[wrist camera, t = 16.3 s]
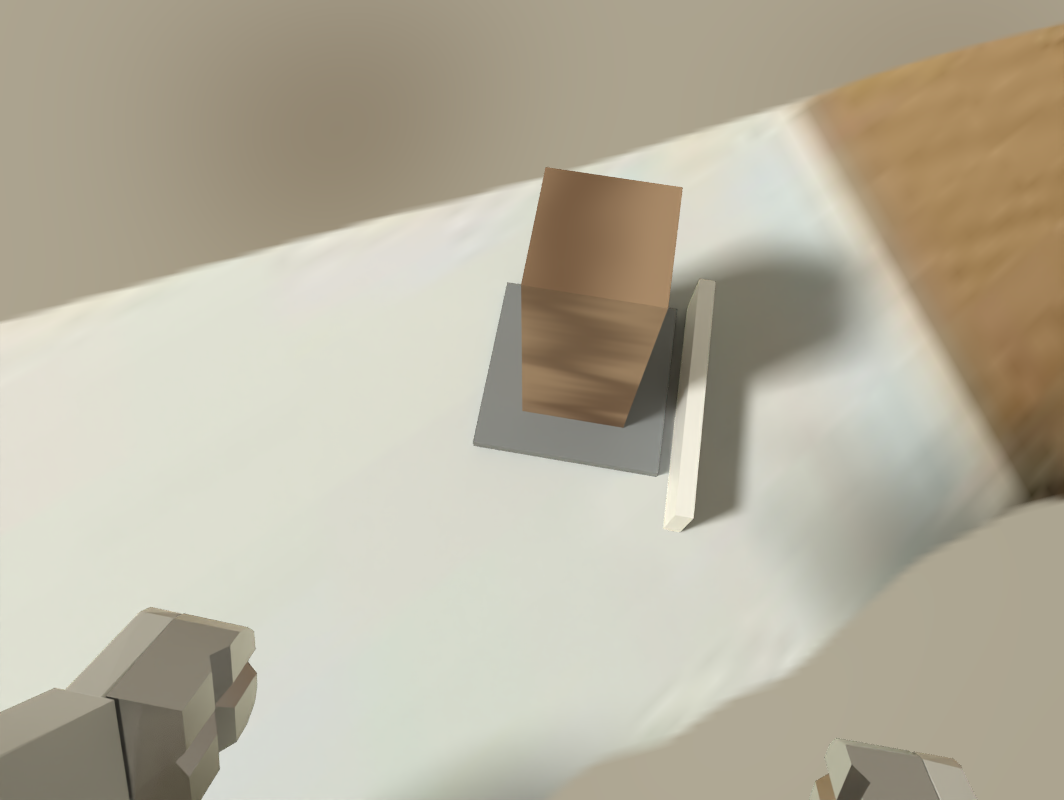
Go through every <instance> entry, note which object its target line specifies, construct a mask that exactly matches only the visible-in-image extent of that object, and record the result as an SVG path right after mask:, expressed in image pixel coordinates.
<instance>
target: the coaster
mask: <svg viewBox="0 0 1064 800" xmlns="http://www.w3.org/2000/svg"><path fill="white" fill-rule="evenodd" d="M676 314H677V309H673V308H668V310H667V312H666V315H665V318H664V320H663V323H662V326H661V328H660V331H659V334H658V336H657V339H656V342H655V344H654V347H653V350H652V352H651V355H650V358H649V360H648V363H647V366H646V368H645V371H644V374H643V376H642V379H641V382H640V384H639V387H638V390H637V392H636V395H635V398H634V400H633V403H632V406H631V408H630V411H629V414H628V416H627V419H626V422H625V424H624V427H623V428H621V427H615V426H609V425H603V424H597V423H591V422H585V421H579V420H573V419H567V418H561V417H555V416H550V415H544V414H538V413H532V412H526V411H522V323H521V284H514V283H508V282H507V287H506V291H505V296H504V300H503V305H502V310H501V314H500V319H499V324H498V328H497V333H496V338H495V342H494V347H493V351H492V356H491V361H490V365H489V370H488V375H487V379H486V384H485V389H484V393H483V398H482V402H481V407H480V412H479V416H478V421H477V426H476V430H475V435H474V440H473V444H474V446H479V447H485V448H491V449H497V450H502V451H508V452H514V453H520V454H526V455H532V456H538V457H544V458H549V459H555V460H561V461H567V462H573V463H579V464H585V465H591V466H596V467H602V468H608V469H614V470H620V471H626V472H632V473H638V474H643V475H649V476H655V477H656V476H657V474H658V471H659V462H660V453H661V445H662V436H663V427H664V418H665V410H666V401H667V392H668V383H669V375H670V366H671V357H672V348H673V340H674V331H675V322H676Z"/></svg>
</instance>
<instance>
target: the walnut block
mask: <svg viewBox="0 0 1064 800" xmlns="http://www.w3.org/2000/svg"><path fill="white" fill-rule="evenodd" d="M682 189H683V188H682V187H676V186H669V185H662V184H655V183H649V182H642V181H635V180H629V179H622V178H615V177H608V176H602V175H595V174H588V173H581V172H575V171H568V170H561V169H554V168H548V167H546V168H545V173H544V178H543V183H542V187H541V192H540V197H539V202H538V207H537V211H536V216H535V221H534V226H533V231H532V235H531V240H530V245H529V250H528V255H527V259H526V264H525V269H524V274H523V279H522V283H521V323H522V411H526V412H532V413H538V414H544V415H550V416H555V417H561V418H567V419H573V420H579V421H585V422H591V423H597V424H603V425H609V426H615V427H621V428H623V427H624V424H625V422H626V419H627V416H628V414H629V411H630V408H631V406H632V403H633V400H634V398H635V395H636V392H637V390H638V387H639V384H640V382H641V379H642V376H643V374H644V371H645V368H646V366H647V363H648V360H649V358H650V355H651V352H652V350H653V347H654V344H655V342H656V339H657V336H658V334H659V331H660V328H661V326H662V323H663V320H664V318H665V315H666V312H667V310H668V305H669V296H670V288H671V280H672V272H673V263H674V255H675V247H676V239H677V230H678V222H679V214H680V205H681V197H682Z"/></svg>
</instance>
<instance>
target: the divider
mask: <svg viewBox="0 0 1064 800" xmlns="http://www.w3.org/2000/svg"><path fill="white" fill-rule="evenodd" d="M715 284H716V281H712V280H706V279H699V281H698V283H697V286H696V288H695V291H694V293H693V295H692V298H691V300H690V302H689V305H688V307H687V313H686V322H685V331H684V340H683V350H682V359H681V368H680V377H679V386H678V395H677V405H676V414H675V423H674V432H673V441H672V451H671V460H670V469H669V478H668V487H667V497H666V506H665V515H664V524H663V529H664V530H669V531H675V532H681V531H682V530H683V529H684V528H685V527H686V526H687V525H688V524H689V523H690V522H691V521H692V519H693V518H694V508H695V498H696V487H697V476H698V466H699V455H700V444H701V434H702V423H703V412H704V402H705V391H706V380H707V370H708V359H709V348H710V338H711V327H712V316H713V306H714V295H715Z"/></svg>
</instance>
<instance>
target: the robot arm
mask: <svg viewBox="0 0 1064 800" xmlns="http://www.w3.org/2000/svg"><path fill="white" fill-rule="evenodd" d="M255 649H256V648H255V637H254V631H253V630H252V629H250V628H248V627H244V626H240V625H235V624H231V623H226V622H221V621H217V620H212V619H207V618H203V617H198V616H194V615H189V614H181V613H176V612H171V611H167V610H162V609H158V608H153V607H150V608H147V609H145V610H143V611H141V612H139V613H138V614H137V615H136V616H135V617H134V618H133V619H132V620H131V621H130V622H129V623H128V624H127V626H126V627H125V628H124V629H123V630H122V631H121V632H120V633H119V634H118V635H117V636H116V637H115V638H114V639H113V640H112V641H111V642H110V643H109V644H108V645H107V646H106V647H105V648H104V650H103V651H102V652H101V653H100V654H99V655H98V656H97V657H96V658H95V659H94V660H93V661H92V662H91V663H90V664H89V665H88V666H87V667H86V668H85V669H84V670H83V671H82V673H81V674H80V675H79V676H78V677H77V678H76V679H75V680H74V681H73V682H72V683H71V684H70V685H69V686H68V687H67V688H66V689H65V690H64V689H58V688H53V689H51V690H49V691H47V692H44V693H42V694H40V695H38V696H35V697H33V698H31V699H29V700H27V701H24V702H22V703H20V704H18V705H15V706H13V707H11V708H9V709H6V710H4V711H2V712H0V800H201V799H202V797H203V796H204V794H205V792H206V791H207V789H208V787H209V786H210V784H211V783H212V781H213V779H214V778H215V776H216V775H217V773H218V771H219V770H220V766H219V752H220V751H222V750H224V749H225V748H227V747H229V746H230V745H232V744H234V743H235V742H237V740H238V738H239V737H240V735H241V733H242V732H243V730H244V728H245V727H246V725H247V723H248V720H249V717H250V714H251V712H252V709H253V706H254V703H255V698H256V691H257V673H256V671H255V670H254V669H253V668H252V666H251V665H250V664H249V662H248V660H249V658H250V657H251V655H252V654H253V652H254V651H255ZM825 762H826V765H827V769H828V772H829V773H828V774H827V775H825V776H823V777H821V778H820V779H818V780H816V781H815V783H814V786H813V790H812V792H811V795H810V798H809V800H978V799H977V797H976V795H975V793H974V791H973V789H972V787H971V785H970V783H969V781H968V779H967V777H966V775H965V773H964V771H963V769H962V767H961V765H960V764H958V763H957V762H956V761H955V760H954V759H953V758H947V757H942V756H935V755H930V754H924V753H918V752H910V751H907V750H901V749H896V748H890V747H884V746H879V745H874V744H868V743H862V742H857V741H851V740H846V739H840V738H836V739H835V740H834V741H833V742H832V743H831V744H830V745H829V748H828V750H827V753H826V756H825Z"/></svg>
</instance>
